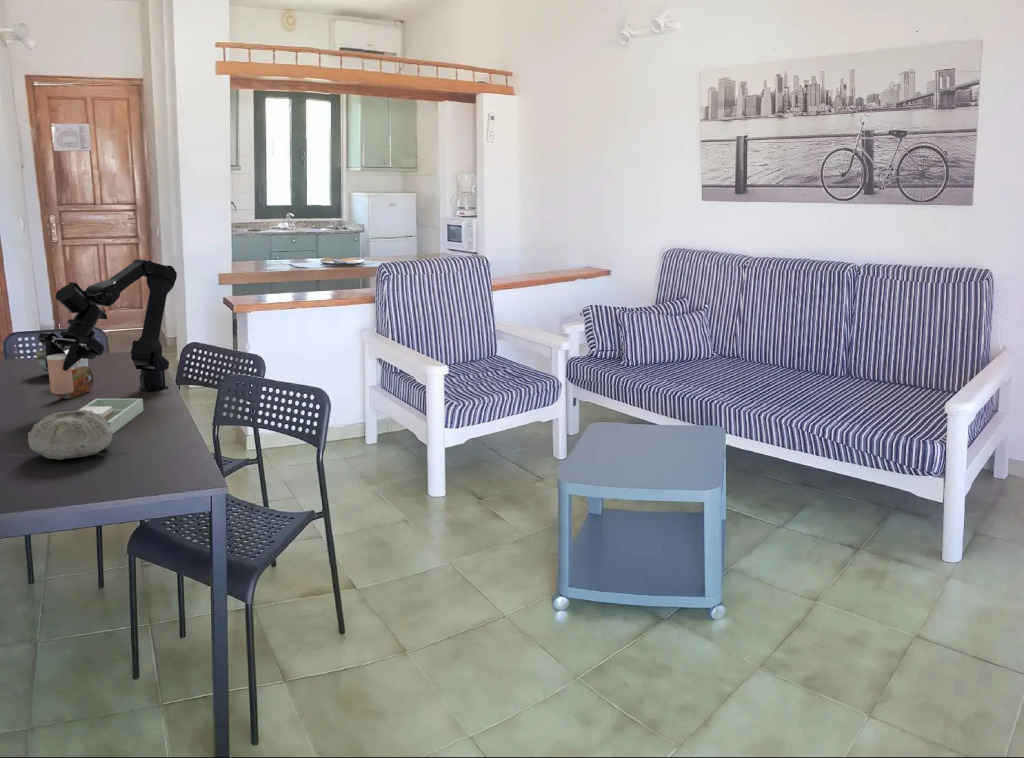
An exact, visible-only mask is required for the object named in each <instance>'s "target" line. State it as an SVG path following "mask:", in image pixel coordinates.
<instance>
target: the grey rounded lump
mask: <svg viewBox="0 0 1024 758" xmlns="http://www.w3.org/2000/svg"><path fill="white" fill-rule="evenodd" d="M113 435H114V433H113V431H112V428H111V426H110V422H108V421H107V420H106V419H104V418H103V417H102V416H100V415H99V414H96V413H93V412H92V411H87V410H79V409H77V410H73V411H61V412H56V413H55V412H54V413H51V414H49V415H46V416H45V417H43V418H41V420H39V421H38V422H37V423H34V424H33V427H32V429H31V431H28V432H27V437H28V438H27V442H28V445H29V447H30V450H31V451H32V452H34V453H38V454H39V455H41V456H43V457H45V458H46V459H49V460H58V461H59V460H64V459H65V460H66V459H75V458H82V457H83V458H84V457H85V456H86V457H89V456H93V455H96V454H98V453H99V452H101V451H104V449H106V448H107V447H108V446H109V445H110V444H111V443H112V442H111V441H112V439H113ZM86 457H85V458H86Z"/></svg>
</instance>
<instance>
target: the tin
mask: <svg viewBox="0 0 1024 758" xmlns="http://www.w3.org/2000/svg"><path fill="white" fill-rule="evenodd" d="M71 369H72V378H73V387H74V391H73V392H70V393H66V394H54V396H55V397H57V398H59V399H66V400H71V399H73V398H76V397H78V395H79V396H81V394H82V395H84V394H83V393H85V394H87V393H89V392H90V391H91V389H92V388H93V384H94V374H93V372H92V369H90V367H89V366H88V367H86V366H78V367H74V368H71ZM86 392H87V393H86ZM70 398H71V399H70Z"/></svg>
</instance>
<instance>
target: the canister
mask: <svg viewBox="0 0 1024 758" xmlns="http://www.w3.org/2000/svg"><path fill="white" fill-rule="evenodd" d="M66 356H67V354H54V355H49V356H47V363H48V371H49V372H48V377H49V378H48V379H49V386H50V393H51V394H52V395H55V394H66V393H70V392H73V391H74V387H73V378H72V369H71V367H70V368H69V369H68V370H67V371H64V370H63V365H64V362H65V359H66Z"/></svg>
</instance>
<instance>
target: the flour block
mask: <svg viewBox="0 0 1024 758" xmlns="http://www.w3.org/2000/svg"><path fill="white" fill-rule="evenodd" d="M82 407H83V408H82ZM82 407H81V408H82V409H81V408H79V409H80V410H87V411H92V412H93V413H96V414H99V415H100V416H102V417H103V418H104V419H106V420H107V421H109V420H110V419H112V418H113V410H112V407H84V406H82Z"/></svg>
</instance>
